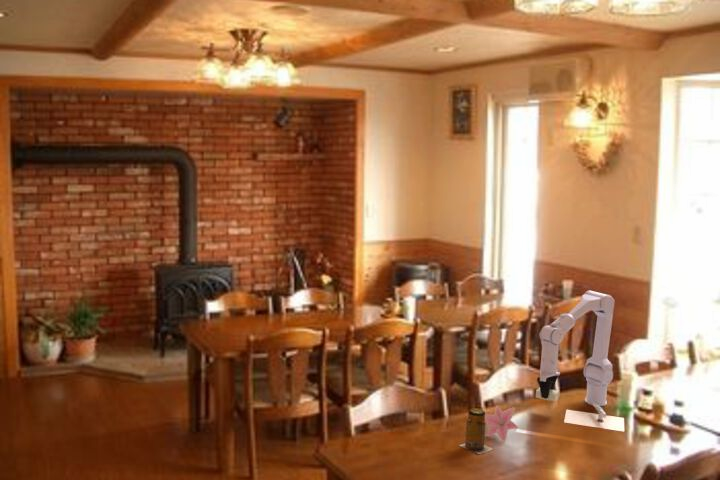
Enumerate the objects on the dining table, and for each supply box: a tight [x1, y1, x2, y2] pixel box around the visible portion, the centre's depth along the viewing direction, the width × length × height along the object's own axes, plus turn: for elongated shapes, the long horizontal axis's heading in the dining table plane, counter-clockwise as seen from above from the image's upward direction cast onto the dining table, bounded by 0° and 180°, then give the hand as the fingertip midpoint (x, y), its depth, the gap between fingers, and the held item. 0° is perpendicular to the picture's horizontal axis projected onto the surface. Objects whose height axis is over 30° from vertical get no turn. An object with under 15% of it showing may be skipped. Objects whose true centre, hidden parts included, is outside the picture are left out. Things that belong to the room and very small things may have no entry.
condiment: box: [458, 408, 494, 455], centre depth 233 cm, size 7×8×12 cm
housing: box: [563, 409, 625, 433], centre depth 260 cm, size 14×20×1 cm
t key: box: [592, 402, 607, 421], centre depth 261 cm, size 2×12×4 cm, turn 178°
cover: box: [535, 387, 560, 402], centre depth 265 cm, size 5×7×2 cm
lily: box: [485, 405, 519, 443], centre depth 245 cm, size 12×12×10 cm
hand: (546, 395), depth 265 cm, fingers closed on cover, 5 cm apart
